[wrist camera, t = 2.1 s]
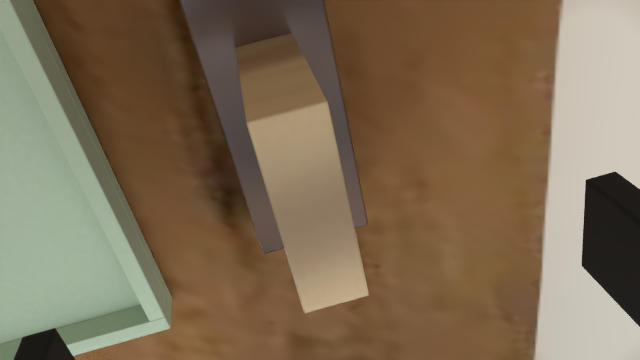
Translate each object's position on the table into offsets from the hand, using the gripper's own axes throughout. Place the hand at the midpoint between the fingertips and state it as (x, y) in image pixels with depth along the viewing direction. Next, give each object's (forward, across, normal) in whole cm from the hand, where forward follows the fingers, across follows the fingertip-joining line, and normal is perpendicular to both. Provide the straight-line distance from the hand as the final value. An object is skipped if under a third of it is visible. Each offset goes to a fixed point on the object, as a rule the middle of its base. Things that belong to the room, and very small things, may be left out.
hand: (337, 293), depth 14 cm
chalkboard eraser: (+14, 0, 0) cm, 14 cm away
